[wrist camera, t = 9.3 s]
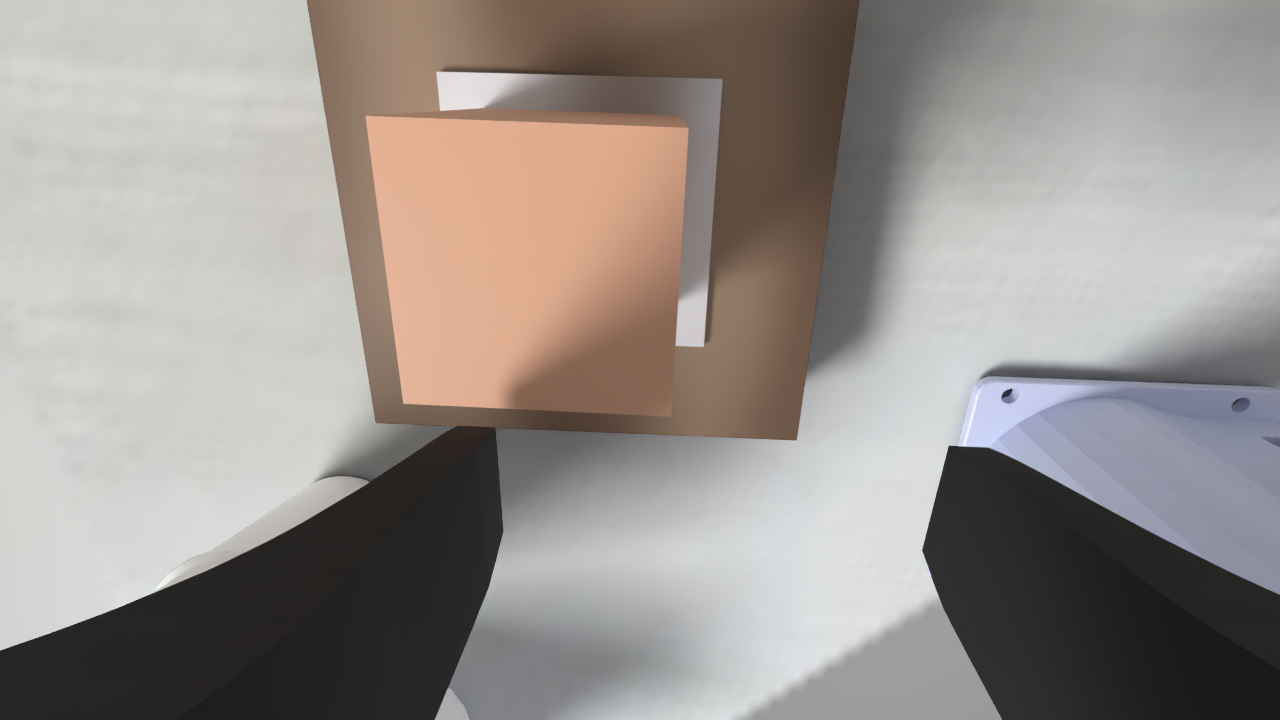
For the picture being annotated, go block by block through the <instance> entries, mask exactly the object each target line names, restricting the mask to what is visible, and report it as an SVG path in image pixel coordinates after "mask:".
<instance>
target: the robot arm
mask: <svg viewBox="0 0 1280 720" xmlns="http://www.w3.org/2000/svg"><path fill="white" fill-rule="evenodd" d="M1007 389H1012V392H1011V394H1010V395H1009V396H1007V397H1005V398H1001V396H1002V394H1003V392H1004V391H1006V390H1007ZM1237 399H1239V400H1238V401H1237V403H1236V404H1234V405H1232V404H1233V403H1234V401H1236V400H1237ZM502 534H503V521H502V508H501V495H500V482H499V469H498V456H497V443H496V430H495V427H479V426H456V427H455V428H453V429H451V430H449V431H447V432H446V433H444V434H442V435H441V436H439V437H438V438H436V439H435V440H433V441H432V442H430V443H429V444H427V445H426V446H424V447H423V448H421V449H420V450H418V451H417V452H415V453H414V454H412V455H411V456H409V457H408V458H406V459H405V460H403V461H401V462H400V463H398V464H397V465H395V466H394V467H392V468H391V469H389V470H388V471H386V472H385V473H383V474H382V475H380V476H378V477H377V478H375V479H374V480H372V481H371V482H369V483H368V484H366V485H365V486H363V487H361V488H360V489H358V490H356V491H355V492H353V493H351V494H350V495H348V496H346V497H345V498H343V499H341V500H340V501H338V502H336V503H334V504H333V505H331V506H329V507H328V508H326V509H324V510H323V511H321V512H319V513H318V514H316V515H314V516H313V517H311V518H309V519H308V520H306V521H304V522H302V523H301V524H299V525H297V526H295V527H293V528H291V529H290V530H288V531H286V532H284V533H282V534H280V535H278V536H276V537H275V538H273V539H271V540H269V541H267V542H265V543H263V544H261V545H259V546H257V547H255V548H253V549H251V550H249V551H247V552H245V553H243V554H241V555H238V556H236V557H234V558H232V559H230V560H228V561H226V562H224V563H222V564H220V565H218V566H216V567H213V568H211V569H209V570H207V571H205V572H202V573H200V574H197V575H195V576H193V577H190V578H188V579H186V580H183V581H181V582H178V583H176V584H174V585H171V586H169V587H167V588H164V589H162V590H160V591H157V592H155V593H152V594H150V595H148V596H145V597H143V598H141V599H138V600H136V601H134V602H131V603H129V604H126V605H124V606H122V607H119V608H117V609H114V610H112V611H109V612H106V613H104V614H101V615H98V616H96V617H93V618H90V619H88V620H85V621H82V622H80V623H77V624H74V625H72V626H69V627H66V628H64V629H61V630H58V631H56V632H53V633H50V634H47V635H44V636H41V637H38V638H35V639H33V640H30V641H27V642H24V643H21V644H18V645H15V646H12V647H9V648H7V649H4V650H1V651H0V720H435V718H436V716H437V713H438V711H439V708H440V706H441V703H442V701H443V699H444V696H445V694H446V691H447V689H448V686H449V684H450V681H451V679H452V677H453V674H454V672H455V669H456V667H457V664H458V662H459V659H460V657H461V655H462V652H463V650H464V647H465V645H466V642H467V640H468V637H469V635H470V633H471V630H472V628H473V625H474V623H475V620H476V618H477V615H478V613H479V610H480V608H481V605H482V603H483V600H484V598H485V595H486V592H487V590H488V587H489V584H490V580H491V577H492V573H493V569H494V566H495V562H496V558H497V554H498V550H499V546H500V542H501V538H502ZM922 551H923V553H924V556H925V559H926V562H927V570H928V572H929V574H930V576H931V577H932V580H933V582H934V585H935V588H936V590H937V593H938V595H939V598H940V600H941V603H942V606H943V608H944V610H945V612H946V614H947V616H948V618H949V620H950V622H951V624H952V626H953V627H954V630H955V632H956V634H957V635H958V637H959V639H960V641H961V643H962V645H963V647H964V649H965V651H966V653H967V654H968V657H969V658H970V660H971V662H972V664H973V666H974V668H975V669H976V671H977V673H978V675H979V677H980V679H981V681H982V683H983V684H984V686H985V688H986V690H987V692H988V694H989V696H990V698H991V699H992V701H993V703H994V705H995V707H996V709H997V711H998V712H999V714H1000V716H1001V718H1002V720H1280V390H1279V389H1277V388H1273V387H1260V386H1234V385H1208V384H1182V383H1155V382H1129V381H1103V380H1076V379H1050V378H1024V377H998V376H991V377H985V378H983V379H981V380H979V381H978V382H977V383H976V384H975V386H974V388H973V390H972V393H971V397H970V401H969V405H968V409H967V413H966V416H965V420H964V424H963V428H962V432H961V435H960V439H959V443H958V446H949V448H948V452H947V455H946V459H945V463H944V467H943V471H942V475H941V479H940V483H939V487H938V491H937V495H936V499H935V502H934V506H933V510H932V514H931V518H930V522H929V526H928V530H927V534H926V538H925V542H924V546H923V549H922Z"/></svg>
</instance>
